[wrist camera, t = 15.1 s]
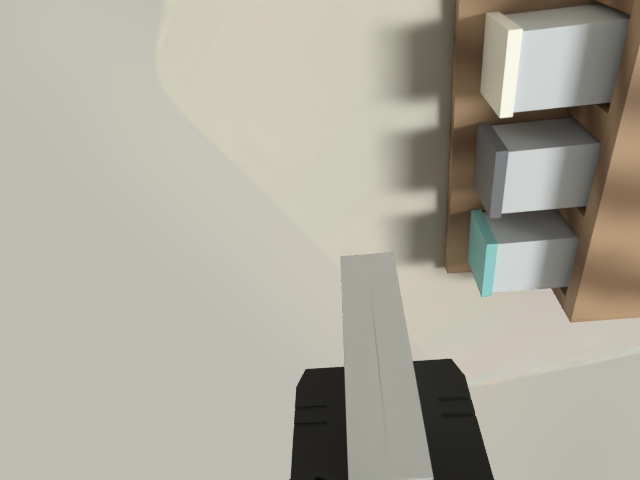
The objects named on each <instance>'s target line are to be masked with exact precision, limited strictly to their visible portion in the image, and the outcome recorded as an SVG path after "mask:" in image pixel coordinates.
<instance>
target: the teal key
mask: <svg viewBox="0 0 640 480" xmlns="http://www.w3.org/2000/svg"><path fill="white" fill-rule="evenodd" d="M578 242H579V239H578V238H577V236H576V235H575V233H574V232H573V231H572V229H571V228H570V226H569V225H568V224H567V222H566V221H565V220H564V218H563V217H562V215H561V214H560V213H559V211H558V210H557V209H548V210H536V211H525V212H514V213H503V214H501V218H491V219H489V216H488V214H487V212H482V210H481V209H478V210H471V221H470V235H469V248H468V262H469V265H470V268H471V270H472V273H473V276H474V278H475V281H476V283H477V286H478V289H479V291H480V294H481V297H488V296H492V293H494V292H506V291H519V290H532V289H545V288H558V287H568V285H569V281H570V276H571V272H572V268H573V263H574V259H575V255H576V250H577V246H578Z"/></svg>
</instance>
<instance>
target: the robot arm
mask: <svg viewBox="0 0 640 480" xmlns="http://www.w3.org/2000/svg"><path fill="white" fill-rule="evenodd" d="M341 283H342V312H343V337H344V338H343V340H344V367H333V368H316V369H306V370H305V372H304V374H303V375H302V377H301V379H300V381H299V383H298V385H297V387H296V401H295V417H294V435H293V450H292V467H291V479H290V480H494V478H493V475H492V471H491V468H490V464H489V460H488V457H487V453H486V450H485V446H484V443H483V439H482V435H481V432H480V429H479V425H478V421H477V418H476V416H475V410H474V407H473V403H472V400H471V398H470V393H469V389H468V385H467V382H466V378H465V375H464V374H463V373H462V372H461V370H460V369H459V368H458V367H457V365H456V364H455V363H454V362H453V360H452V359H440V360H425V361H412V355H411V349H410V344H409V338H408V333H407V327H406V321H405V316H404V310H403V305H402V299H401V293H400V288H399V282H398V277H397V271H396V265H395V260H394V254H393V252H391V253H378V254H366V255H354V256H341Z"/></svg>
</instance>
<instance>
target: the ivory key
mask: <svg viewBox="0 0 640 480" xmlns="http://www.w3.org/2000/svg"><path fill="white" fill-rule="evenodd" d="M630 17H631V15H629V14H627V13H624V12H622V11H620V10H617V9H615V8H613V7H610V6H608V5H605V4H603V3H598V4H590V5H581V6H573V7H565V8H556V9H548V10H539V11H531V12H522V13H514V14H506V15H503V14H502V13H500V12H499V11H497V12H488V13H486V19H485V33H484V46H483V60H482V73H481V87H480V93H481V94H482V95H483V97H484V98H485V99H486V101H487V102H488V103H489V105H490V106H491V107H492V109H493V110H494V111H495V113H496V114H497V115H498V117H499V118H507V117H513V112H523V111H532V110H542V109H552V108H561V107H571V106H580V105H590V104H600V103H609V102H611V99H612V95H613V91H614V86H615V82H616V78H617V74H618V69H619V65H620V61H621V56H622V52H623V48H624V43H625V39H626V35H627V30H628V26H629V22H630Z"/></svg>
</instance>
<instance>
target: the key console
mask: <svg viewBox="0 0 640 480" xmlns="http://www.w3.org/2000/svg"><path fill="white" fill-rule="evenodd" d="M598 3H603V4H605V5H608V6H610V7H613V8H615V9H617V10H620V11H622V12H624V13H627V14H629V15H631V17H630V22H629V26H628V30H627V35H626V39H625V43H624V48H623V52H622V56H621V61H620V65H619V69H618V74H617V78H616V82H615V86H614V91H613V95H612V99H611V102H609V103H600V104H590V105H580V106H571V107H561V108H552V109H542V110H532V111H523V112H513V117H507V118H499V117H498V115H497V114H496V113H495V111H494V110H493V109H492V107H491V106H490V105H489V103H488V102H487V101H486V99H485V98H484V97H483V95H482V94H481V93H480V87H481V73H482V60H483V46H484V33H485V19H486V13H488V12H497V11H499V12H500V13H502V14H503V15H506V14H514V13H522V12H531V11H539V10H548V9H556V8H565V7H573V6H581V5H590V4H598ZM570 117H574V118H575V119H576V120H577V121H578V122H579V123H580V124H581V125H582V126H584V127H585V128H586V129H587V130H588V131H589V132H590V133H591V134H592V135H593V136H594V137H595V138H596V139H598V140H599V141H600V142H601V147H600V151H599V156H598V160H597V164H596V168H595V173H594V177H593V181H592V186H591V190H590V194H589V199H588V203H587V206H581V207H570V208H559V209H557V210H558V211H559V213H560V214H561V215H562V217H563V218H564V220H565V221H566V222H567V224H568V225H569V226H570V228H571V229H572V231H573V232H574V233H575V235H576V236H577V238H578V239H579V242H578V246H577V250H576V255H575V259H574V263H573V268H572V272H571V276H570V281H569V285H568V287H558V288H551V289H552V290H553V292H554V294H555V296H556V297H557V299H558V301H559V303H560V305H561V306H562V308H563V310H564V312H565V313H566V315H567V317H568V319H569V321H570V322H584V321H598V320H611V319H625V318H639V317H640V0H456V10H455V34H454V59H453V84H452V108H451V133H450V158H449V182H448V207H447V231H446V256H445V268H446V271H447V273H457V272H469V271H472V270H471V268H470V265H469V262H468V248H469V235H470V221H471V210H478V209H481V210H482V212H486V210H485V208H484V206H483V204H482V202H481V200H480V198H479V196H478V194H477V192H476V190H475V188H474V186H473V181H474V168H475V154H476V140H477V127H478V123H485V122H489V123H490V124H491V126H492V125H502V124H511V123H521V122H531V121H541V120H550V119H560V118H570Z"/></svg>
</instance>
